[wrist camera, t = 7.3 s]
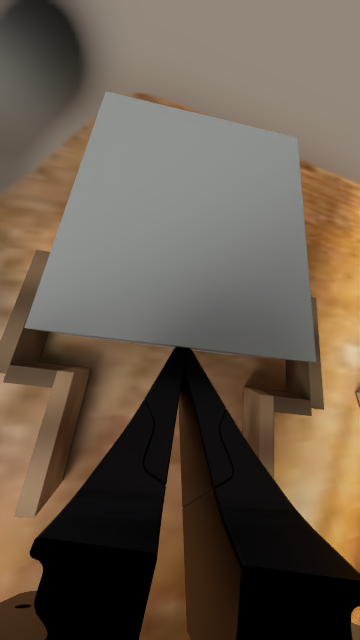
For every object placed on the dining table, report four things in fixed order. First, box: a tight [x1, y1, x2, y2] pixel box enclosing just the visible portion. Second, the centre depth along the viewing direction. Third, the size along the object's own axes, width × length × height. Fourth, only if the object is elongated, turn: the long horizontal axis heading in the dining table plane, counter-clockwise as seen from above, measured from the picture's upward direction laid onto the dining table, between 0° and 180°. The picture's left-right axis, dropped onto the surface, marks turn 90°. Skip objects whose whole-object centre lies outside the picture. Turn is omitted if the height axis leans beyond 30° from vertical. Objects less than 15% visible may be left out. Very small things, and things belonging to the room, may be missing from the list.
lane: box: [0, 250, 324, 518], centre depth 13 cm, size 30×27×4 cm
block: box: [24, 92, 316, 362], centre depth 12 cm, size 14×12×9 cm
